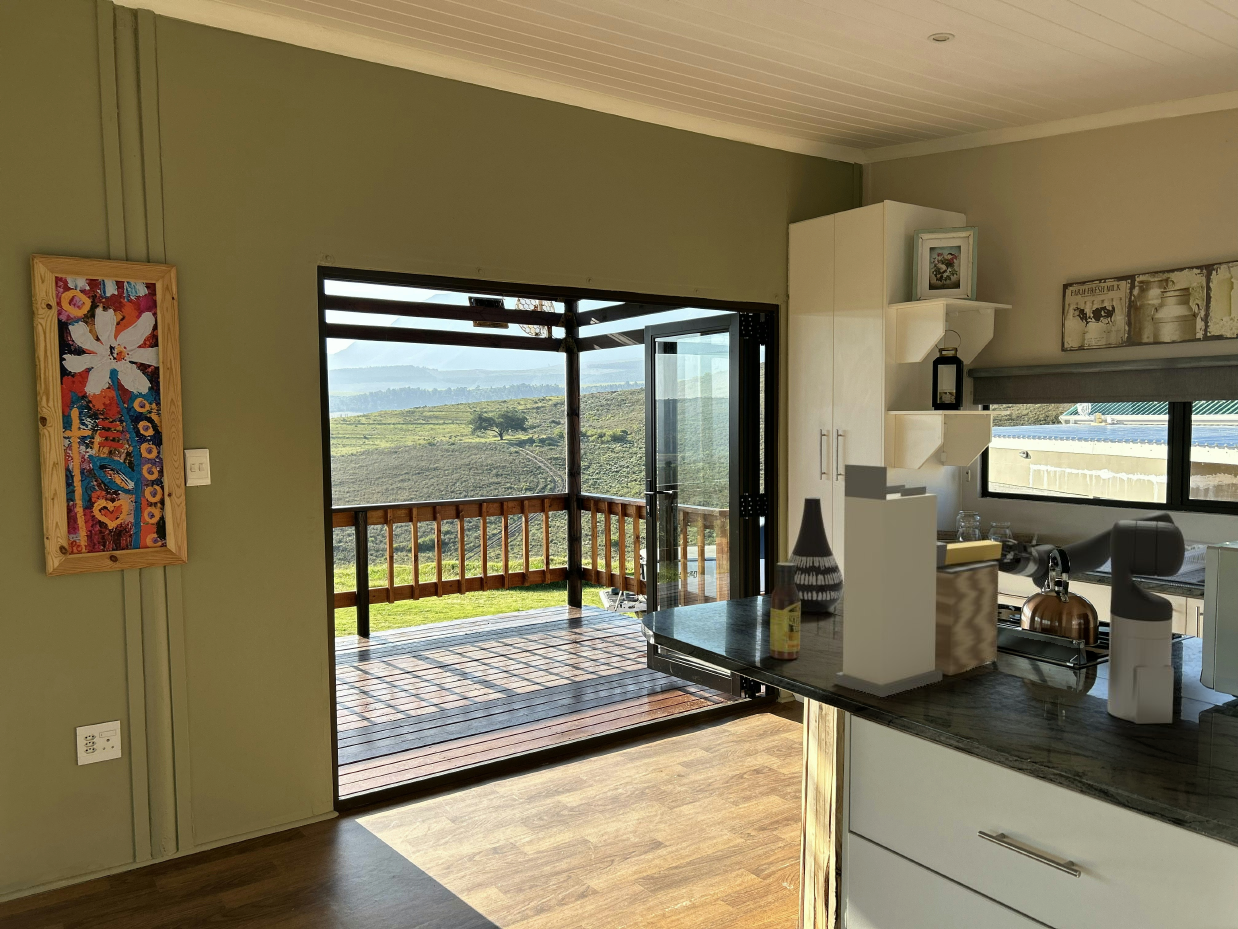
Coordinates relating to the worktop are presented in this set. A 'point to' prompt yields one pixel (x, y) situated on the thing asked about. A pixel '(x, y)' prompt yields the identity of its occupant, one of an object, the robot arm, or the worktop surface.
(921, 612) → the socket tower
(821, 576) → the vase
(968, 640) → the block
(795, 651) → the sauce bottle
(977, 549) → the plug rod
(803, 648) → the worktop surface
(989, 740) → the worktop surface
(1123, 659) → the robot arm
